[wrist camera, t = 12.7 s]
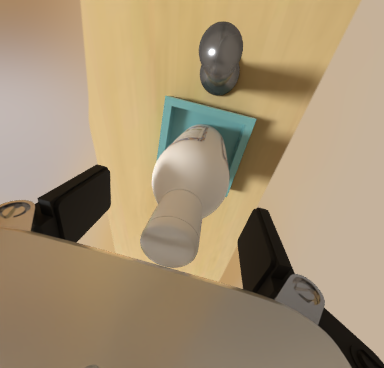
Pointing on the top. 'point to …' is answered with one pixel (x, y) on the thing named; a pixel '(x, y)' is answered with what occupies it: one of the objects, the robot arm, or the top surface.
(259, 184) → the top surface
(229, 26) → the post
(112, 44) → the top surface
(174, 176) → the bath foam
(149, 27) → the top surface
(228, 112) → the holder tray
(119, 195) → the top surface
